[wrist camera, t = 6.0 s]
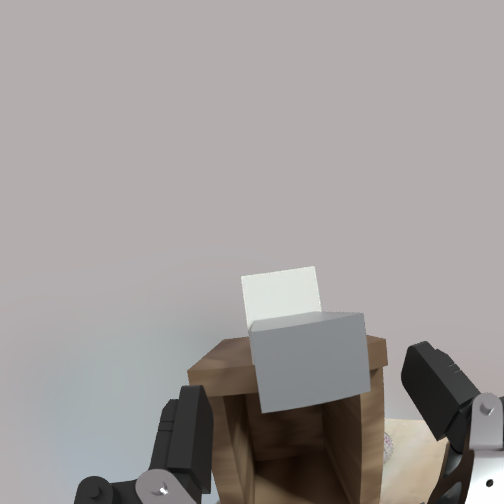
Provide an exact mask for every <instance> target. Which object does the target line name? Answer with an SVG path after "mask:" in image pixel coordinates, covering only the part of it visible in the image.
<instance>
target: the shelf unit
mask: <svg viewBox="0 0 504 504" xmlns="http://www.w3.org/2000/svg"><path fill="white" fill-rule="evenodd" d="M366 339H367V349H368V360H369V373H370V389H371V391H369V392H365V393H362V394H358V395H354V396H351V397H347V398H343V399H339V400H334V401H330V402H325V403H321V404H316V405H311V406H306V407H300V408H294V409H288V410H282V411H275V412H268V413H262V410H261V403H260V396H259V390H258V383H257V376H256V369H255V365H253V362H252V355H251V348H250V340H249V337H242V338H233V339H224V340H222V341H221V342H220V343H219V344H218V345H217V346H216V347H215V348H213V349H212V350H211V351H210V352H209V353H207V354H206V355H205V356H204V357H203V358H202V359H201V360H199V361H198V362H197V363H196V364H195V365H193V366H192V367H191V368H190V369H189V370H188V371H187V372H188V378H189V384H190V385H203V387H204V389H205V392H206V395H207V398H208V400H209V403H210V406H211V408H212V412H213V418H214V428H213V447H212V473H213V476H214V480H215V484H216V487H217V491H218V494H219V498H220V501H221V504H379V501H380V492H381V483H382V471H383V455H384V383H383V366H387V365H388V360H387V349H386V339H383V338H378V337H374V336H369V335H366Z"/></svg>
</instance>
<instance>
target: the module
mask: <svg viewBox="0 0 504 504" xmlns="http://www.w3.org/2000/svg"><path fill="white" fill-rule="evenodd" d="M241 280H242V288H243V295H244V303H245V310H246V318H247V326H248V333H249V340H250V348H251V355H252V362H253V365H255V369H256V376H257V383H258V390H259V396H260V403H261V410H262V413H268V412H275V411H282V410H288V409H294V408H300V407H306V406H311V405H316V404H321V403H325V402H330V401H334V400H339V399H343V398H347V397H351V396H354V395H358V394H362V393H365V392H369V391H371V389H370V373H369V360H368V349H367V339H366V332H365V331H366V330H365V322H364V314H363V313H348V312H346V313H345V312H322V311H321V304H320V297H319V291H318V285H317V278H316V272H315V266H312V267H305V268H299V269H292V270H285V271H278V272H271V273H263V274H256V275H249V276H242V277H241Z"/></svg>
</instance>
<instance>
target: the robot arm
mask: <svg viewBox="0 0 504 504" xmlns="http://www.w3.org/2000/svg"><path fill="white" fill-rule="evenodd" d="M401 381H402V384H403V386H404V388H405V390H406V391H407V393H408V394H409V396H410V398H411V399H412V401H413V402H414V404H415V405H416V407H417V409H418V410H419V412H420V414H421V415H422V417H423V419H424V420H425V422H426V423H427V425H428V427H429V429H430V430H431V432H432V434H433V435H434V437H435V439H436V440H437V441H439V440H441V439H443V438H445V437H447V438H448V442H447V445H446V449H445V454H444V459H443V463H442V468H441V472H440V476H439V480H438V482H437V485H436V487H435V488H434V490H433V492H432V493H431V495H430V498H429V500H428V503H427V504H504V396H503V397H500V398H498V397H497V396H496V395H494V394H492V393H482V394H481V393H480V392H479V391H478V389H477V388H476V387H475V386H474V384H473V383H472V382H471V381H470V380H469V379H468V377H467V376H466V375H465V374H464V373H463V372H462V370H460V368H459V367H458V366H457V365H456V364H454V362H453V360H452V359H451V358H450V357H449V356H448V355H447V354H445V353H444V352H442V351H440V350H438V349H436V350H435V349H434V348H433V347H432V346H431V345H430V344H429V343H428V342H427V341H423V342H420V343H417V344H415V345H412V346H410V347H408V349H407V353H406V357H405V361H404V365H403V368H402V372H401ZM213 428H214V418H213V412H212V408H211V406H210V403H209V400H208V398H207V395H206V392H205V389H204V387H203V385H189V386H182V387H181V390H180V396H179V399H170V400H169V402H168V403H167V404H166V406H165V407H164V408H163V410H162V414H161V418H160V423H159V427H158V432H157V435H156V440H155V444H154V449H153V454H152V458H151V463H150V467H149V469H148V470H147V471H146V472H144V473H143V474H142V475H141V476H140V477H139V478H138V479H136V480H132V481H126V482H116V483H109V482H108V481H107V480H105V479H104V478H102V477H98V476H91V477H87V478H85V479H84V480H82V481H81V483H80V484H79V486H78V489H77V493H76V497H75V501H74V504H201V496H202V494H210V493H211V469H212V447H213ZM421 504H425V503H424V502H423V503H421Z"/></svg>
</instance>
